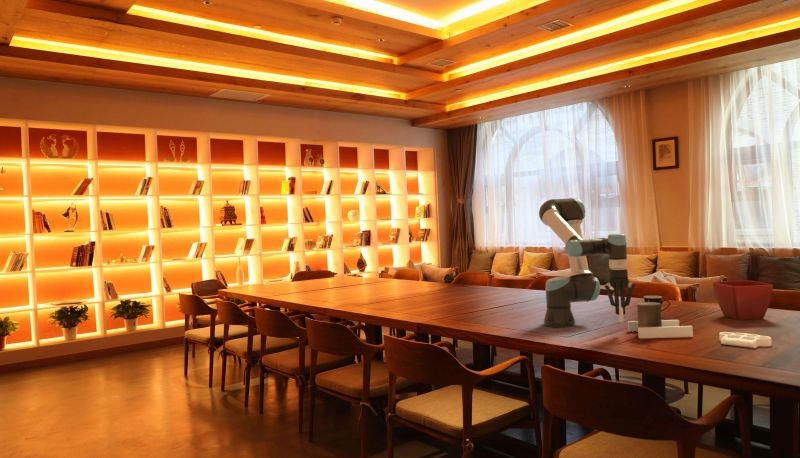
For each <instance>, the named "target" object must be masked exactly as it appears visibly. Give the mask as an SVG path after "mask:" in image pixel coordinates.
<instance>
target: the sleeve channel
mask: <svg viewBox="0 0 800 458" xmlns="http://www.w3.org/2000/svg"><path fill="white" fill-rule="evenodd" d="M661 321H662V327H638V320H630V321H629V320H628V321H627V331H628V332H629V333H631V331H632V332H634V331H636V332H635V333H637V332H638V333H637V335H638V339H658V338H660V339H664V338H665V339H667V338H670V339H671V338H693V337H694V332H693V325H681V326H680V320H679V319H665V320H664V319H661Z"/></svg>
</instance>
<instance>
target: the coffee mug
mask: <svg viewBox="0 0 800 458" xmlns="http://www.w3.org/2000/svg"><path fill="white" fill-rule="evenodd" d="M643 301H644V302H648V301H649V302H656V303H660V304H661V306H662V304H663V303H664V302H667V303H668V305H667V306H666V307H664V308H663V309H661V313H662V312H663V311H665V310H667V309H668V308H669V307H670V306H671V303H670V301H669V300H667V299H663V296H659V295H644V296H643Z"/></svg>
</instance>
